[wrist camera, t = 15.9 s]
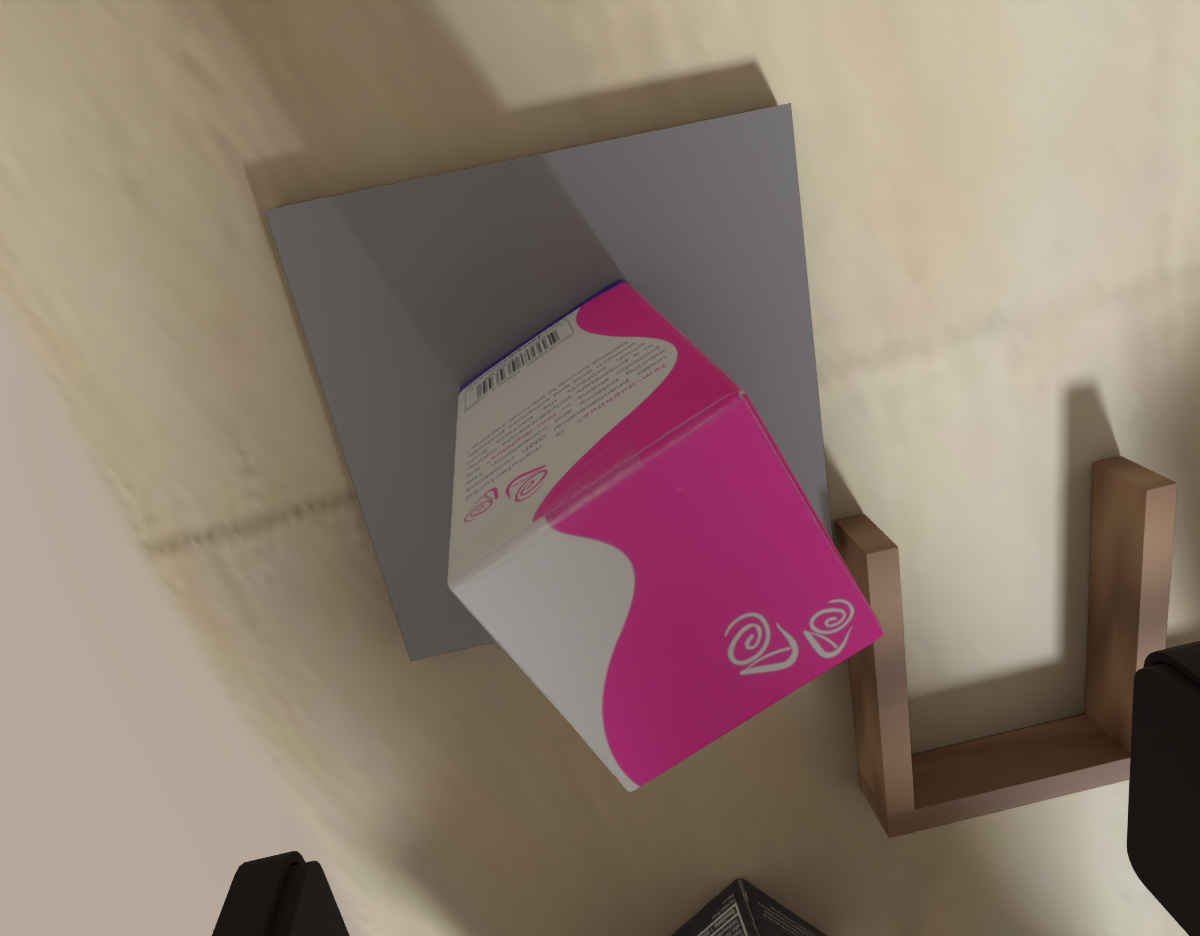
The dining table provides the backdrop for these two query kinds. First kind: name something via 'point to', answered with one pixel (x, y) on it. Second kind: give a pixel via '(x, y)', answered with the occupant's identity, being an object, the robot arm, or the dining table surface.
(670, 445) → the supplement box
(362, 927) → the dining table surface
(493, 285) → the slate board
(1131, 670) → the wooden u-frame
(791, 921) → the small box
